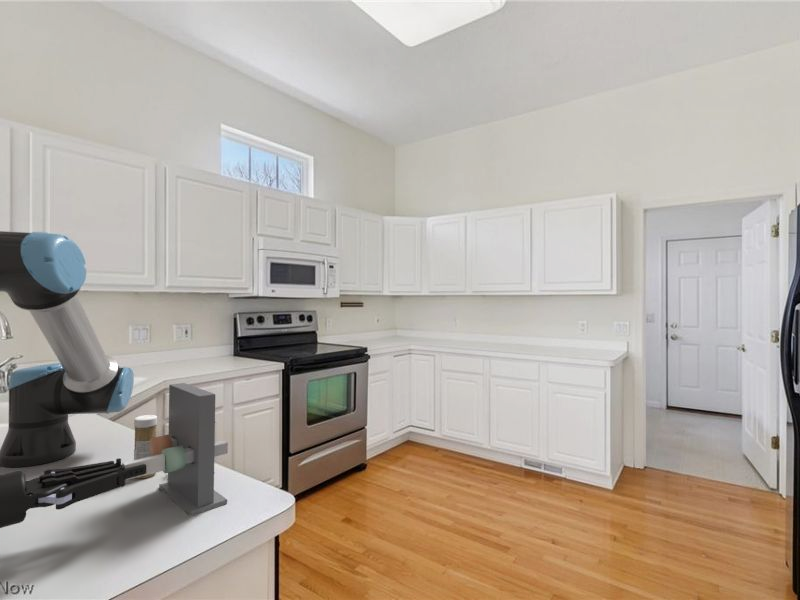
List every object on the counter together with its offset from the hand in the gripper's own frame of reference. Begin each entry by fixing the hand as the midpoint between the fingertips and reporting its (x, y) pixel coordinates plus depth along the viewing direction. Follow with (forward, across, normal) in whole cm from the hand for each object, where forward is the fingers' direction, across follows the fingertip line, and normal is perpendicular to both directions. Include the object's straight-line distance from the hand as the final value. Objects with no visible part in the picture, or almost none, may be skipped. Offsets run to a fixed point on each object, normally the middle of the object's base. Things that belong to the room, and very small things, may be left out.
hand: (163, 462), depth 80 cm
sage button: (+6, 0, -2) cm, 6 cm away
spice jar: (+4, -23, -10) cm, 25 cm away
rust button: (+7, -9, -2) cm, 12 cm away
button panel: (+7, -5, -10) cm, 13 cm away
